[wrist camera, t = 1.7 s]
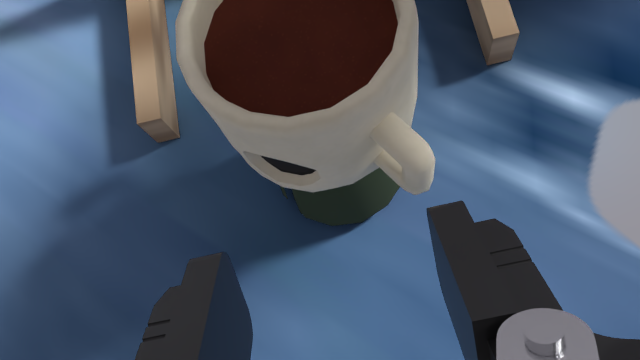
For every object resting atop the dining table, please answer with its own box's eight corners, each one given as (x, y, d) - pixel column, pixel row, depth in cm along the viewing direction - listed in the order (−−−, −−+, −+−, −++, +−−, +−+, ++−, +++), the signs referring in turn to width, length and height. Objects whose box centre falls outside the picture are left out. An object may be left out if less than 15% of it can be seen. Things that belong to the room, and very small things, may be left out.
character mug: (219, 143, 30) (88, -11, 18) (320, 51, 31) (260, -156, 19) (368, 299, 27) (331, 237, 15) (477, 191, 28) (529, 48, 15)
